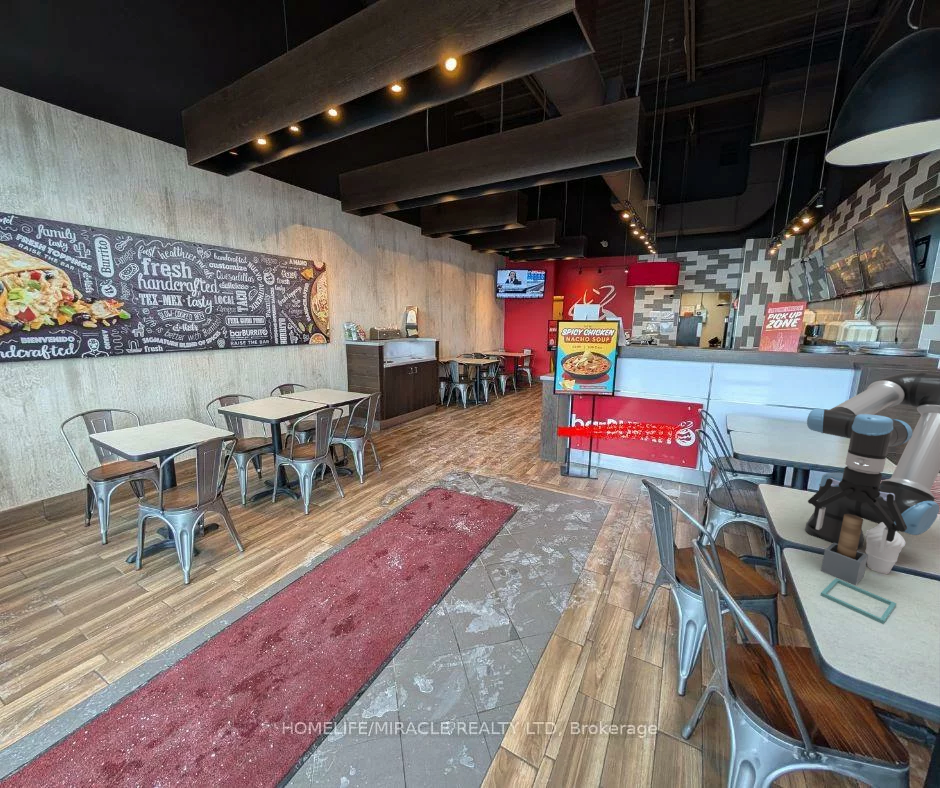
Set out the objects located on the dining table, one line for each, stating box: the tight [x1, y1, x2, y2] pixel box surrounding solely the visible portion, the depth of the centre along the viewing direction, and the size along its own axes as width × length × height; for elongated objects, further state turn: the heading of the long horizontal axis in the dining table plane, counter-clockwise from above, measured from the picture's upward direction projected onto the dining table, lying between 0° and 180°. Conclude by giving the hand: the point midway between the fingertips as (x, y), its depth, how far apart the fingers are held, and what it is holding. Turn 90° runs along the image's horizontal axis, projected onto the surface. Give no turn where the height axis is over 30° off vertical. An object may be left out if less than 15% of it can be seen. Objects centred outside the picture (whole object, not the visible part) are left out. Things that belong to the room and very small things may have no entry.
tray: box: [819, 577, 897, 625], centre depth 102 cm, size 12×12×2 cm
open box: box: [820, 542, 868, 587], centre depth 113 cm, size 8×8×8 cm
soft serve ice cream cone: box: [864, 522, 906, 575], centre depth 115 cm, size 8×8×16 cm
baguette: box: [836, 514, 864, 559], centre depth 112 cm, size 4×4×18 cm
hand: (848, 538), depth 112 cm, fingers open, 13 cm apart
